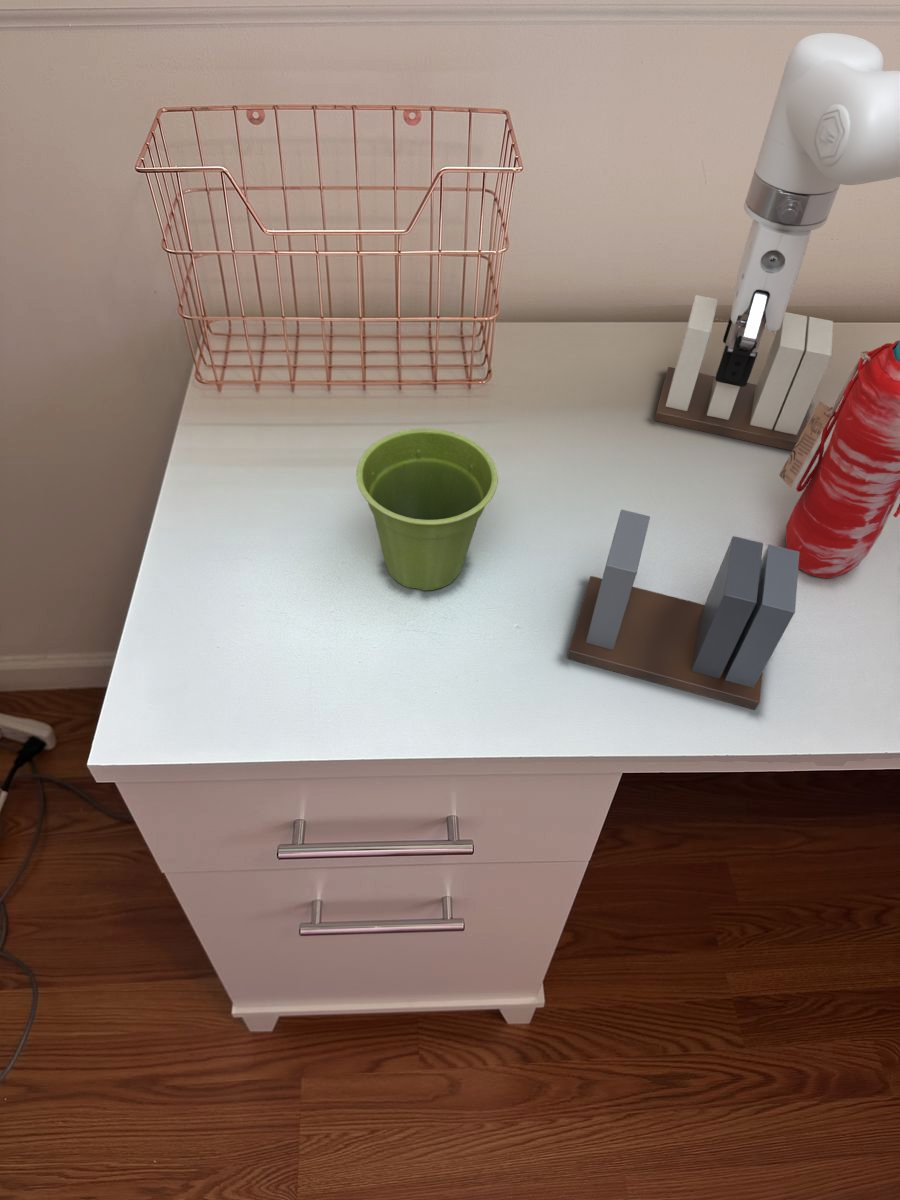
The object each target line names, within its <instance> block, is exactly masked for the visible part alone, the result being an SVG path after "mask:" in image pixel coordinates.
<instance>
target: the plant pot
mask: <svg viewBox="0 0 900 1200" xmlns="http://www.w3.org/2000/svg"><path fill="white" fill-rule="evenodd" d="M355 474H356V475H355V476H356V477H355V478H356V484H357V487H358V490H359V491H360V493H361V495H362V496H363V498H364V499H365V501H366V502H367V505H368V507H369V509H370V512H371V513H372V516H373V519H374V522H375V526H376V531H377V535H378V539H379V543H380V547H381V551H382V556H383V559H384V563H385V566H386V569H387V571H388V574H389V575H390V576H391V578H392V579H393V580H394V581H396V582H397V583H399V584H400V585H402V586H403V587H406V588H410V589H419V590H422V591H434V590H438V589H441V588H444V587H446V586H448V585H450V584H451V583H453V582H454V581H455V580H456V579H457V578H458V577H459V575H460V574H461V572H462V569H463V566H464V564H465V561H466V557H467V554H468V552H469V548H470V545H471V543H472V539H473V536H474V533H475V530H476V527H477V524H478V521H479V518H480V517H481V516H482V514H483V512H484V510H485V507H486V506H487V505H488V504H489V503H490V502H491V500H492V499H493V497H494V495H495V493H496V491H497V488H498V484H499V475H498V469H497V465H496V464H495V461H494V460H493V458H492V457H491V455H490V454H489V453H488V452H487V451H486V449H484V448H483V447H482V446H481V445H480V444H479V443H477V442H475V441H474V440H472V439H470V438H468V437H466V436H464V435H463V434H460V433H456V432H453V431H449V430H445V429H440V428H428V427H424V428H423V427H421V428H409V429H404V430H400V431H397V432H393V433H391V434H388V435H386V436H383V437H382V438H380V439H378V440H376V441H375V442H374V443H372V444H371V445H370V446H369V447H368V448H367V449H366V450H365V451H364V452H363V453H362V456H361V457H360V459H359V461H358V463H357V467H356V473H355Z"/></svg>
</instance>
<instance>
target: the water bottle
mask: <svg viewBox="0 0 900 1200" xmlns="http://www.w3.org/2000/svg"><path fill="white" fill-rule="evenodd" d="M831 432H832V433H831ZM830 434H831V436H830ZM820 436H821V437H820ZM829 436H830V439H829V442H828V444H827V447H826V449H825V443H826V442H827V440H828V438H829ZM819 438H820V443H819V445H818V447H817V449H816V450H815V452H814V454H813V455H812V458H811V460H810V462H809V464H808V466H807V467H806V468H805V471H804V473H803V475H802V476H801V478H800V479H799V481H798V484H797V486H796V488H795V490H796V492H798V493H799V492H802V491H803V492H802V493H801V495H800V497H799V498H798V500H797V502H796V503H795V506H794V507H793V510H792V512H791V514H790V516H789V519H788V521H787V523H786V525H785V534H786V535H785V543H786V544H785V545H786V549H790V550H794V551H799V565H798V570H801V571H802V572H804V573H806V574H808V575H809V576H811V577H812V576H813V577H818V578H822V579H830V578H835V577H838V576H843V575H847V574H848V573H849V572H851V571H852V570H854V569H856V568H857V567H858V566H860V565H861V563H862V562H863V561H864V559H865V558H866V557H867V556H868V554H869V552H870V551H871V549H872V548H873V546H874V545H875V544H876V542H877V540H878V539H879V537H880V535H881V534H882V532H883V529H884V528H885V525H886V523H887V521H888V520H889V517H890V515H891V513H892V511H893V509H894V507H895V504H896V503H897V500H898V499H899V496H900V339H899V340H895V341H894V342H893V343H890V342H889V343H885V344H883V345H881V346H879V347H877V348H875V349H872V350H869V351H868V350H865V351H861V352H860V357H859V359H858V360H857V363H856V364H855V366H854V367H853V369H852V371H851V373H850V374H849V376H848V378H847V380H846V382H845V384H844V386H843V387H842V389H841V391H840V393H839V395H838V396H837V399H836V401H835V403H834V404H833V406H831V407H830V406H829V405H827V404H825V403H823V402H821V401H819V402H818V403H817V405H816V407H815V409H814V411H813V412H812V414H811V416H810V417H809V420H808V421H807V425H806V427H805V429H804V431H803V432H802V434H801V436H800V438H799V440H798V442H797V443H796V445H795V447H794V449H793V451H791V453H790V454H789V456H788V457H787V460H786V462H785V463H784V465H783V467H782V468H781V470H780V473H779V474H778V476H779V477H780V478H781V479H782V480H783V481H784V482H785V483H786V484H787V486H789V488H792V486H793V485H794V484H795V481H796V480H797V478H798V477H799V474H800V473H801V471H802V468H803V467H804V465H805V463H806V462H807V460H808V458H809V457H810V455H811V453H812V451H813V449H814V447H815V446H816V445H817V442H818V440H819ZM824 450H825V451H824ZM817 458H818V459H817ZM816 460H817V462H816ZM815 462H816V464H815ZM814 464H815V466H814ZM813 466H814V467H813ZM812 467H813V469H812ZM811 469H812V470H811ZM810 471H811V472H810ZM892 516H893V517H894V518H897V517H898V516H900V502H899V503H898V506H897V508H896V510H895V511H894V513H893V514H892Z"/></svg>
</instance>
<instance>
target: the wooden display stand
mask: <svg viewBox="0 0 900 1200" xmlns="http://www.w3.org/2000/svg"><path fill="white" fill-rule="evenodd" d="M718 302H719V299H718V298H714V297H708V296H704V295H699V294H695V296H694V299H693V303H692V307H691V310H690V313H689V316H688V320H687V324H686V328H685V332H684V335H683V339H682V342H681V346H680V350H679V353H678V357H677V360H676V364H675V367H672V366H668V367H667V370H666V374H665V377H664V381H663V385H662V389H661V393H660V396H659V400H658V404H657V408H656V411H655V415H654V419H653V420H654V421H655V422H660V423H663V424H668V425H673V426H677V427H682V428H687V429H690V430H696V431H699V432H705V433H710V434H714V435H718V436H722V437H728V438H732V439H736V440H742V441H746V442H750V443H755V444H760V445H765V446H768V447H773V448H778V449H782V450H783V449H784V450H786V451H791V452H792V451H793V449H794V447H795V445H796V443H797V442H798V440H799V438H800V436H801V434H802V432H803V431H804V429H805V427H806V425H807V423H808V415H809V407H810V405H811V403H812V401H813V398H814V396H815V394H816V391H817V389H818V387H819V385H820V382H821V380H822V379H823V376H824V373H825V371H826V370H827V367H828V365H829V362H830V360H831V357H832V352H833V351H832V350H833V349H832V348H833V331H834V330H833V329H834V320H829V319H824V318H819V317H814V316H809V317H808V316H807V315H802V314H797V313H794V312H793V313H792V312H787V311H785V314H784V317H783V320H782V323H781V327H780V329H779V330H778V331H776V332H775V335H774V338H773V340H772V343H771V345H770V348H769V351H768V354H767V356H766V359H765V362H764V364H763V366H762V370H761V373H760V376H759V378H758V380H757V384H754V383H750V382H747V385H746V386H744V387H740V388H739V391H738V394H737V397H736V400H735V403H734V406H733V409H732V412H731V414H730V417H729V420H726V419H721V418H716V417H712V416H707V411H708V406H709V401H710V396H711V391H712V386H713V381H714V378H715V375H712V374H707V373H701V372H700V370H701V367H702V363H703V361H704V357H705V354H706V351H707V347H708V344H709V341H710V337H711V334H712V329H713V325H714V321H715V316H716V312H717V306H718Z"/></svg>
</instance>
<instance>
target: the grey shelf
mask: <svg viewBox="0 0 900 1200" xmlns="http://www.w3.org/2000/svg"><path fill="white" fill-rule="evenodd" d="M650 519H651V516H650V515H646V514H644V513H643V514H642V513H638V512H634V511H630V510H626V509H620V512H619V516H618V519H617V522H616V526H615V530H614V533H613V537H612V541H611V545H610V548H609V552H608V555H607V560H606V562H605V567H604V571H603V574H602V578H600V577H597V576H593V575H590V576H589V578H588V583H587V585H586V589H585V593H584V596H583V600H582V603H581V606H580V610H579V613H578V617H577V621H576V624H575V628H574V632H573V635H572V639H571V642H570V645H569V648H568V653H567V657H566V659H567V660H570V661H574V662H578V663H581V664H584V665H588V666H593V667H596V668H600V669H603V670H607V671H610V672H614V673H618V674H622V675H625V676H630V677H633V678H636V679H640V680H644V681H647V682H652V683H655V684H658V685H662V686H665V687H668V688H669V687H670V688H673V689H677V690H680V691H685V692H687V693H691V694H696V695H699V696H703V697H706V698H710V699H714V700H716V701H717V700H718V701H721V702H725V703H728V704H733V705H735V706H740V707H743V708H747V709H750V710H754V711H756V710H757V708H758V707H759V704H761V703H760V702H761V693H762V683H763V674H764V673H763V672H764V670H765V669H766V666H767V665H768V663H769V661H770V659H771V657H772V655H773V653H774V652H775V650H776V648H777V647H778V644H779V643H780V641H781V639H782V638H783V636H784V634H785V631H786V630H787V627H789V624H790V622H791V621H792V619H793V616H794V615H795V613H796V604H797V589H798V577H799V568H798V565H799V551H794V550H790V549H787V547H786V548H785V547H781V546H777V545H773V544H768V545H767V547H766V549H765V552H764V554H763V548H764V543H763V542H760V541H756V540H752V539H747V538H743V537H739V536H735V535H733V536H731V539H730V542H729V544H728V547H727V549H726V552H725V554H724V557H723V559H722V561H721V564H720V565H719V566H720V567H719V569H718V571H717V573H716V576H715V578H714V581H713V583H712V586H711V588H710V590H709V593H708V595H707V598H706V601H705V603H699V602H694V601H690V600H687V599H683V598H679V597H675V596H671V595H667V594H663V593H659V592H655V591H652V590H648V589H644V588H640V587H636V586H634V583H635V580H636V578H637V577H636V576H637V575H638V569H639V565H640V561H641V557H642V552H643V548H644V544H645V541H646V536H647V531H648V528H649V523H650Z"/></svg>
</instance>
